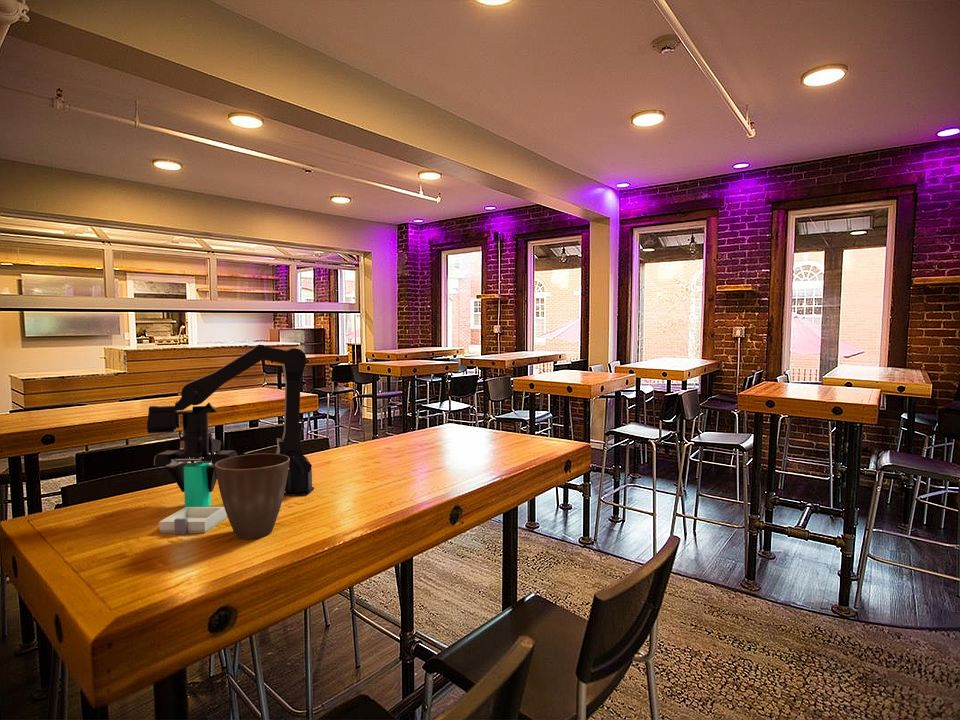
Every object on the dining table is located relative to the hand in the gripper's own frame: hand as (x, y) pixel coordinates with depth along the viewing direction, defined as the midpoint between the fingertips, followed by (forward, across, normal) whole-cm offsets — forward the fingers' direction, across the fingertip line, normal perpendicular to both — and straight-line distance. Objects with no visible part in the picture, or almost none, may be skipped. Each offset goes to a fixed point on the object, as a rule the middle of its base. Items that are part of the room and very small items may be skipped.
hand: (197, 491), depth 134 cm
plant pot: (+4, -23, +19) cm, 30 cm away
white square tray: (+4, -7, +14) cm, 16 cm away
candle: (+4, 0, 0) cm, 4 cm away
